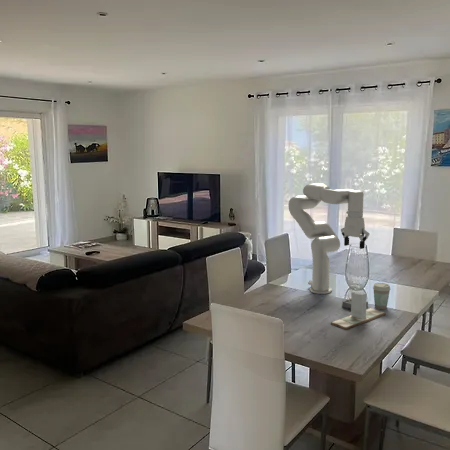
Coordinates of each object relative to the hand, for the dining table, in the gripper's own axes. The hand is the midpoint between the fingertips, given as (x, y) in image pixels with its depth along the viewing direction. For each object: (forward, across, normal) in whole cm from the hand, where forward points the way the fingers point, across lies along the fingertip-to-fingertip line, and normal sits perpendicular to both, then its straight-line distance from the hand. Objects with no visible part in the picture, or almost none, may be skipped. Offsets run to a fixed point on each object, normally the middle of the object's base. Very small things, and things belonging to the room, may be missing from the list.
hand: (354, 246), depth 237 cm
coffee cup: (+31, +14, +5) cm, 34 cm away
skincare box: (+30, +17, -17) cm, 38 cm away
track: (+30, +17, -17) cm, 39 cm away
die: (+30, +6, -5) cm, 31 cm away
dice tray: (+30, +6, -5) cm, 31 cm away
